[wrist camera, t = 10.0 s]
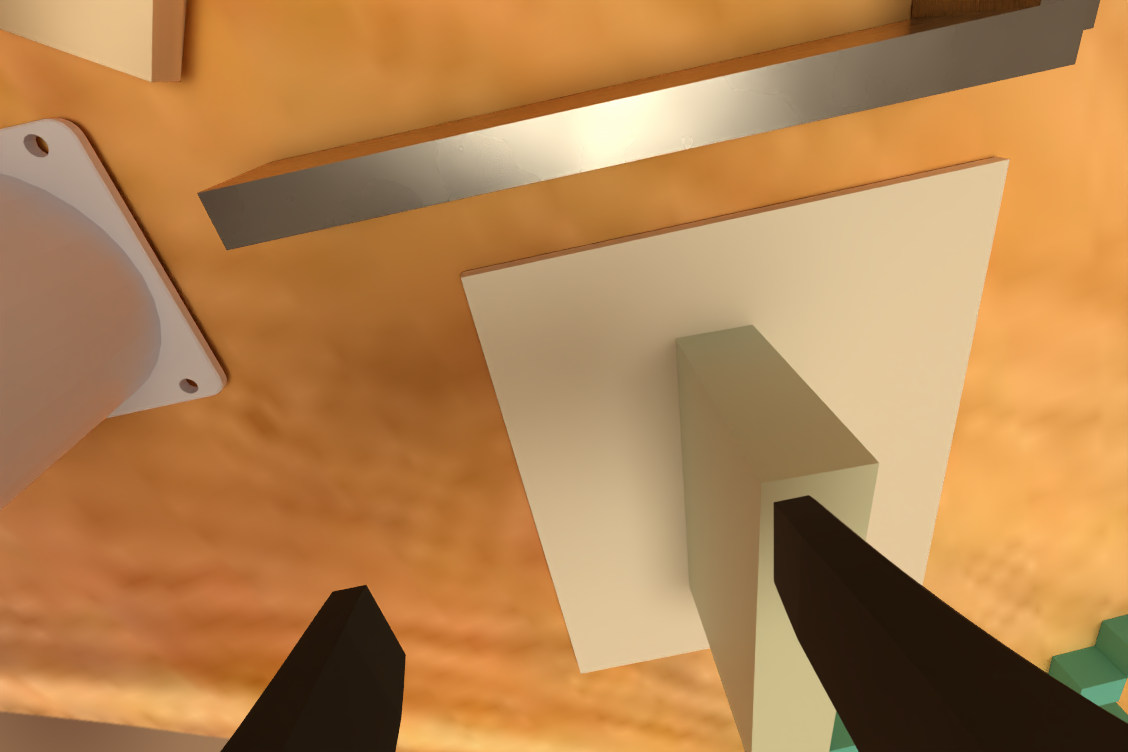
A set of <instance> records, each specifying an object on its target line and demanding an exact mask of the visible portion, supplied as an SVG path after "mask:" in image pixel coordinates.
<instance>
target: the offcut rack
mask: <svg viewBox="0 0 1128 752" xmlns="http://www.w3.org/2000/svg"><path fill="white" fill-rule="evenodd" d="M1099 3H1100V0H913V6H912V15H911V19H910V20H906V21H901V22H897V23H892V24H888V25H883V26H879V27H874V28H870V29H865V30H861V31H856V32H852V33H847V34H843V35H838V36H834V37H829V38H825V39H820V40H816V41H811V42H807V43H802V44H798V45H793V46H789V47H784V48H780V49H776V50H771V51H767V52H762V53H758V54H753V55H749V56H744V57H740V58H735V59H731V60H726V61H722V62H717V63H713V64H708V65H704V66H699V67H695V68H690V69H686V70H681V71H677V72H672V73H668V74H663V75H659V76H654V77H650V78H646V79H641V80H637V81H632V82H628V83H623V84H619V85H614V86H610V87H605V88H601V89H596V90H592V91H587V92H583V93H578V94H574V95H569V96H565V97H560V98H556V99H551V100H547V101H542V102H538V103H533V104H529V105H524V106H520V107H515V108H511V109H507V110H502V111H498V112H493V113H489V114H484V115H480V116H475V117H471V118H466V119H462V120H457V121H453V122H448V123H444V124H439V125H435V126H430V127H426V128H421V129H417V130H412V131H408V132H403V133H399V134H394V135H390V136H385V137H381V138H377V139H372V140H368V141H363V142H359V143H354V144H350V145H345V146H341V147H336V148H332V149H327V150H323V151H318V152H314V153H309V154H305V155H300V156H296V157H291V158H287V159H282V160H278V161H273V162H270V163H268V164H266V165H263V166H261V167H258V168H256V169H254V170H251V171H249V172H246V173H244V174H242V175H239V176H237V177H235V178H232V179H230V180H227V181H225V182H223V183H220V184H218V185H215V186H213V187H211V188H208V189H206V190H204V191H201V192H199V193H197V194H198V196H199V197H200V199H201V201H202V203H203V205H204V207H205V209H206V211H207V213H208V215H209V217H210V219H211V221H212V223H213V225H214V227H215V228H216V230H217V232H218V234H219V236H220V238H221V240H222V242H223V244H224V246H225V248H226V250H230V249H235V248H239V247H244V246H248V245H253V244H258V243H262V242H267V241H271V240H276V239H280V238H285V237H289V236H294V235H299V234H303V233H308V232H312V231H317V230H321V229H326V228H330V227H335V226H340V225H344V224H349V223H353V222H358V221H362V220H367V219H371V218H376V217H381V216H385V215H390V214H394V213H399V212H403V211H408V210H412V209H417V208H422V207H426V206H431V205H435V204H440V203H444V202H449V201H453V200H458V199H463V198H467V197H472V196H476V195H481V194H485V193H490V192H494V191H499V190H504V189H508V188H513V187H517V186H522V185H526V184H531V183H535V182H540V181H545V180H549V179H554V178H558V177H563V176H567V175H572V174H576V173H581V172H586V171H590V170H595V169H599V168H604V167H608V166H613V165H617V164H622V163H627V162H631V161H636V160H640V159H645V158H649V157H654V156H658V155H663V154H668V153H672V152H677V151H681V150H686V149H690V148H695V147H699V146H704V145H709V144H713V143H718V142H722V141H727V140H731V139H736V138H740V137H745V136H750V135H754V134H759V133H763V132H768V131H772V130H777V129H781V128H786V127H791V126H795V125H800V124H804V123H809V122H813V121H818V120H822V119H827V118H832V117H836V116H841V115H845V114H850V113H854V112H859V111H863V110H868V109H873V108H877V107H882V106H886V105H891V104H895V103H900V102H904V101H909V100H914V99H918V98H923V97H927V96H932V95H936V94H941V93H945V92H950V91H955V90H959V89H964V88H968V87H973V86H977V85H982V84H986V83H991V82H996V81H1000V80H1005V79H1009V78H1014V77H1018V76H1023V75H1027V74H1032V73H1037V72H1041V71H1046V70H1050V69H1055V68H1059V67H1064V66H1068V65H1073V64H1075V62H1076V58H1077V54H1078V49H1079V45H1080V41H1081V37H1082V33H1083V30H1086V29H1090V28H1093V27H1094V23H1095V19H1096V15H1097V11H1098V7H1099Z"/></svg>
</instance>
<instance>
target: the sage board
mask: <svg viewBox="0 0 1128 752" xmlns="http://www.w3.org/2000/svg"><path fill="white" fill-rule="evenodd" d="M675 339H676V356H677V374H678V392H679V409H680V427H681V445H682V462H683V480H684V498H685V516H686V533H687V551H688V569H689V586H690V590H691V593H692V596H693V599H694V602H695V604H696V607H697V610H698V613H699V616H700V619H701V622H702V625H703V628H704V631H705V634H706V637H707V640H708V643H709V646H710V649H711V652H712V655H713V658H714V661H715V663H716V666H717V669H718V672H719V675H720V678H721V681H722V684H723V687H724V690H725V693H726V696H727V699H728V702H729V705H730V708H731V711H732V714H733V717H734V720H735V723H736V725H737V728H738V731H739V734H740V737H741V740H742V743H743V746H744V749H745V752H829V750H830V744H831V738H832V732H833V727H834V721H835V715H836V710H835V708H834V706H833V704H832V702H831V700H830V699H829V697H828V695H827V693H826V691H825V689H824V688H823V686H822V684H821V682H820V680H819V678H818V676H817V675H816V673H815V671H814V669H813V667H812V665H811V663H810V662H809V660H808V658H807V656H806V654H805V652H804V650H803V649H802V647H801V645H800V643H799V641H798V639H797V637H796V634H795V632H794V630H793V627H792V625H791V623H790V620H789V618H788V616H787V613H786V611H785V608H784V606H783V603H782V601H781V598H780V596H779V593H778V591H777V588H776V586H775V584H774V502H777V501H782V500H787V499H792V498H797V497H802V496H807V495H809V496H811V497H812V498H814V499H815V500H817V501H818V502H819V503H820V504H821V505H823V506H824V507H825V508H826V509H827V510H829V511H830V512H831V513H832V514H833V515H834V516H836V517H837V518H838V519H839V520H840V521H842V522H843V523H844V524H845V525H846V526H848V527H849V528H850V529H851V530H852V531H854V532H855V533H856V534H857V535H859V536H860V537H861V538H862V539H863V540H865V541H866V537H867V531H868V525H869V520H870V514H871V508H872V502H873V497H874V491H875V485H876V479H877V474H878V468H879V462H878V461H877V460H876V459H875V458H874V456H873V455H872V454H871V453H870V452H869V451H868V450H867V449H866V448H865V447H864V446H863V444H862V443H861V442H860V441H859V440H858V439H857V438H856V437H855V436H854V435H853V434H852V432H851V431H850V430H849V429H848V428H847V427H846V426H845V425H844V424H843V423H842V422H841V420H840V419H839V418H838V417H837V416H836V415H835V414H834V413H833V412H832V411H831V410H830V408H829V407H828V406H827V405H826V404H825V403H824V402H823V401H822V400H821V399H820V398H819V396H818V395H817V394H816V393H815V392H814V391H813V390H812V389H811V388H810V387H809V386H808V384H807V383H806V382H805V381H804V380H803V379H802V378H801V377H800V376H799V375H798V374H797V372H796V371H795V370H794V369H793V368H792V367H791V366H790V365H789V364H788V363H787V362H786V360H785V359H784V358H783V357H782V356H781V355H780V354H779V353H778V352H777V351H776V349H775V348H774V347H773V346H772V345H771V344H770V343H769V342H768V341H767V340H766V339H765V337H764V336H763V335H762V334H761V333H760V332H759V331H758V330H757V329H756V328H755V327H754V325H748V326H742V327H737V328H731V329H725V330H719V331H714V332H708V333H702V334H697V335H691V336H685V337H679V338H675Z"/></svg>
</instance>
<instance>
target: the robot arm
mask: <svg viewBox="0 0 1128 752" xmlns="http://www.w3.org/2000/svg"><path fill="white" fill-rule="evenodd" d="M36 136H39V137H41V138H42V139H43V140H44V141H45V142H46V143H47V145H48V148H49V152H48V154H47V153H45V152H43V151H42V150H41V149H40V148H39V147H38V145H37V142H36ZM186 379H190V380H193V381H194V382H195V383H196V384H197V386H198V387H194V386H192V385H190V384H189V383H188V382H187V380H186ZM226 383H227V378H226V375H225V373H224V371H223V369H222V368H221V366H220V364H219V363H218V361H217V359H216V357H215V356H214V354H213V352H212V351H211V349H210V347H209V346H208V344H207V342H206V340H205V339H204V337H203V335H202V334H201V332H200V330H199V328H198V327H197V325H196V323H195V322H194V320H193V318H192V317H191V315H190V313H189V311H188V310H187V308H186V306H185V305H184V303H183V301H182V299H181V298H180V296H179V294H178V293H177V291H176V289H175V288H174V286H173V284H172V282H171V281H170V279H169V277H168V276H167V274H166V272H165V271H164V269H163V267H162V265H161V264H160V262H159V260H158V259H157V257H156V255H155V253H154V252H153V250H152V248H151V247H150V245H149V243H148V242H147V240H146V238H145V236H144V235H143V233H142V231H141V230H140V228H139V226H138V225H137V223H136V221H135V219H134V218H133V216H132V214H131V213H130V211H129V209H128V207H127V206H126V204H125V202H124V201H123V199H122V197H121V196H120V194H119V192H118V190H117V189H116V187H115V185H114V184H113V182H112V180H111V178H110V177H109V175H108V173H107V172H106V170H105V168H104V167H103V165H102V163H101V161H100V160H99V158H98V156H97V155H96V153H95V151H94V150H93V148H92V146H91V144H90V143H89V141H88V139H87V138H86V136H85V135H84V133H83V132H82V131H81V129H80V128H79V127H78V126H76V125H75V124H73V123H72V122H71V121H68V120H65V119H63V118H49V119H42V120H38V121H34V122H29V123H25V124H20V125H16V126H12V127H7V128H3V129H0V510H2V509H3V508H4V507H5V506H6V505H7V504H8V503H10V502H11V501H12V500H13V499H14V498H15V497H16V496H18V495H19V494H20V493H21V492H22V491H23V490H24V489H26V488H27V487H28V486H29V485H30V484H31V483H32V482H33V481H35V480H36V479H37V478H38V477H39V476H40V475H41V474H43V473H44V472H45V471H46V470H47V469H48V468H49V467H51V466H52V465H53V464H54V463H55V462H56V461H57V460H58V459H60V458H61V457H62V456H63V455H64V454H65V453H66V452H68V451H69V450H70V449H71V448H72V447H73V446H74V445H76V444H77V443H78V442H79V441H80V440H81V439H82V438H84V437H85V436H86V435H87V434H88V433H89V432H90V431H91V430H93V429H94V428H95V427H96V426H97V425H98V424H99V423H101V422H102V421H103V420H104V419H106V418H110V417H115V416H120V415H124V414H129V413H134V412H139V411H143V410H148V409H153V408H157V407H162V406H167V405H171V404H176V403H181V402H185V401H190V400H195V399H200V398H204V397H209V396H214V395H216V394H218V393H219V392H220V391H221V390H222V389H223V388H224V387H225V385H226ZM774 584H775V586H776V588H777V591H778V593H779V596H780V598H781V601H782V603H783V606H784V608H785V611H786V613H787V616H788V618H789V620H790V623H791V625H792V627H793V630H794V632H795V634H796V637H797V639H798V641H799V643H800V645H801V647H802V649H803V650H804V652H805V654H806V656H807V658H808V660H809V662H810V663H811V665H812V667H813V669H814V671H815V673H816V675H817V676H818V678H819V680H820V682H821V684H822V686H823V688H824V689H825V691H826V693H827V695H828V697H829V699H830V700H831V702H832V704H833V706H834V708H835V710H836V711H837V713H838V715H839V717H840V719H841V720H842V722H843V724H844V726H845V728H846V730H847V731H848V733H849V735H850V737H851V739H852V741H853V742H854V744H855V746H856V748H857V750H858V752H1128V723H1127V722H1125V721H1123V720H1121V719H1120V718H1118V717H1116V716H1115V715H1113V714H1111V713H1110V712H1108V711H1106V710H1105V709H1103V708H1101V707H1100V706H1098V705H1097V704H1095V703H1093V702H1092V701H1090V700H1089V699H1087V698H1085V697H1084V696H1082V695H1081V694H1079V693H1077V692H1076V691H1074V690H1073V689H1071V688H1069V687H1068V686H1066V685H1065V684H1063V683H1062V682H1060V681H1058V680H1057V679H1055V678H1054V677H1052V676H1050V675H1049V674H1047V673H1046V672H1044V671H1043V670H1041V669H1040V668H1038V667H1037V666H1035V665H1034V664H1032V663H1031V662H1029V661H1028V660H1026V659H1025V658H1023V657H1022V656H1020V655H1019V654H1017V653H1016V652H1014V651H1013V650H1011V649H1010V648H1008V647H1007V646H1005V645H1004V644H1002V643H1001V642H1000V641H998V640H997V639H995V638H994V637H992V636H991V635H990V634H988V633H987V632H985V631H984V630H982V629H981V628H980V627H978V626H977V625H975V624H974V623H972V622H971V621H969V620H968V619H967V618H965V617H964V616H963V615H961V614H960V613H958V612H957V611H956V610H954V609H953V608H952V607H950V606H949V605H947V604H946V603H945V602H943V601H942V600H941V599H939V598H938V597H937V596H935V595H934V594H933V593H931V592H930V591H929V590H927V589H926V588H925V587H923V586H922V585H921V584H920V583H918V582H917V581H916V580H914V579H913V578H912V577H910V576H909V575H908V574H906V573H905V572H904V571H902V570H901V569H900V568H899V567H897V566H896V565H895V564H893V563H892V562H891V561H890V560H888V559H887V558H886V557H885V556H883V555H882V554H881V553H880V552H878V551H877V550H876V549H875V548H873V547H872V546H871V545H870V544H868V543H867V542H866V541H865V540H863V539H862V538H861V537H860V536H859V535H857V534H856V533H855V532H854V531H852V530H851V529H850V528H849V527H848V526H846V525H845V524H844V523H843V522H842V521H840V520H839V519H838V518H837V517H836V516H834V515H833V514H832V513H831V512H830V511H829V510H827V509H826V508H825V507H824V506H823V505H821V504H820V503H819V502H818V501H817V500H815V499H814V498H812V497H811V496H809V495H807V496H802V497H797V498H792V499H787V500H782V501H777V502H774ZM405 656H406V655H405V653H404V651H403V649H402V647H401V646H400V644H399V642H398V640H397V639H396V637H395V635H394V633H393V631H392V630H391V628H390V626H389V624H388V623H387V621H386V619H385V617H384V616H383V614H382V612H381V610H380V608H379V607H378V605H377V603H376V601H375V600H374V598H373V596H372V594H371V592H370V591H369V589H368V587H367V585H363V586H358V587H354V588H349V589H344V590H339V591H334V592H332V593H331V595H330V596H329V598H328V599H327V601H326V602H325V603H324V605H323V606H322V608H321V609H320V611H319V612H318V613H317V615H316V616H315V618H314V619H313V621H312V622H311V624H310V625H309V627H308V628H307V629H306V631H305V632H304V634H303V635H302V637H301V638H300V640H299V641H298V643H297V644H296V646H295V647H294V649H293V650H292V651H291V653H290V654H289V656H288V657H287V659H286V660H285V662H284V663H283V665H282V666H281V668H280V669H279V670H278V672H277V673H276V675H275V676H274V678H273V679H272V681H271V682H270V683H269V685H268V686H267V688H266V689H265V691H264V692H263V693H262V695H261V696H260V698H259V699H258V700H257V702H256V703H255V705H254V706H253V708H252V709H251V710H250V712H249V713H248V715H247V716H246V717H245V719H244V720H243V722H242V723H241V725H240V726H239V727H238V729H237V730H236V732H235V733H234V734H233V736H232V737H231V738H230V740H229V741H228V742H227V744H226V745H225V746H224V748H223V749H222V750H221V752H395V750H396V745H397V739H398V734H399V728H400V722H401V714H402V702H403V691H404V674H405Z"/></svg>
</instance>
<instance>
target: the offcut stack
mask: <svg viewBox="0 0 1128 752" xmlns="http://www.w3.org/2000/svg"><path fill="white" fill-rule="evenodd" d="M186 4H187V0H0V29H1V30H4V31H7V32H10V33H13V34H15V35H18V36H21V37H24V38H27V39H30V40H32V41H35V42H38V43H41V44H44V45H47V46H50V47H52V48H55V49H58V50H61V51H64V52H67V53H70V54H72V55H75V56H78V57H81V58H84V59H87V60H90V61H92V62H95V63H98V64H101V65H104V66H107V67H110V68H112V69H115V70H118V71H121V72H124V73H127V74H130V75H132V76H135V77H138V78H141V79H144V80H147V81H149V82H177V81H181V71H182V58H183V44H184V31H185V18H186Z"/></svg>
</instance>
